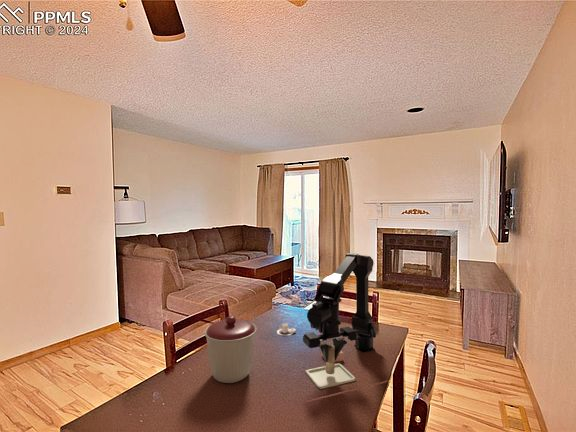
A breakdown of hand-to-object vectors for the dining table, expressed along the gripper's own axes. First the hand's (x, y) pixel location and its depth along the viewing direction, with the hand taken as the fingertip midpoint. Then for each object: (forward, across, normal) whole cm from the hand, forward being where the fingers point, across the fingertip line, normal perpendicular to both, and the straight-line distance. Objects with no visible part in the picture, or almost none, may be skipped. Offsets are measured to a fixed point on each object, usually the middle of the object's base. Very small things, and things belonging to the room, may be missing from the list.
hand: (330, 360), depth 109 cm
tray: (+6, 0, 0) cm, 6 cm away
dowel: (+4, 0, 0) cm, 4 cm away
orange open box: (+6, -7, -11) cm, 14 cm away
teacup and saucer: (+7, +1, -39) cm, 39 cm away
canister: (+6, +32, -14) cm, 35 cm away
